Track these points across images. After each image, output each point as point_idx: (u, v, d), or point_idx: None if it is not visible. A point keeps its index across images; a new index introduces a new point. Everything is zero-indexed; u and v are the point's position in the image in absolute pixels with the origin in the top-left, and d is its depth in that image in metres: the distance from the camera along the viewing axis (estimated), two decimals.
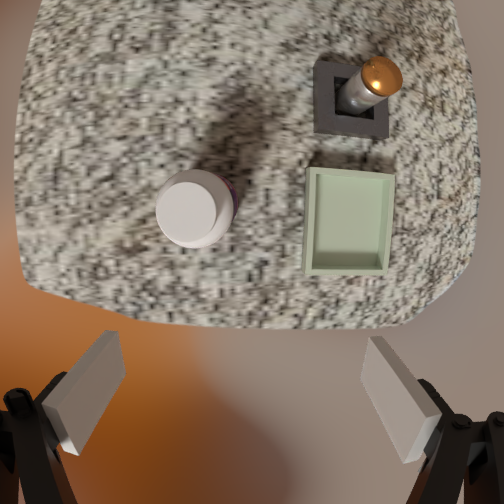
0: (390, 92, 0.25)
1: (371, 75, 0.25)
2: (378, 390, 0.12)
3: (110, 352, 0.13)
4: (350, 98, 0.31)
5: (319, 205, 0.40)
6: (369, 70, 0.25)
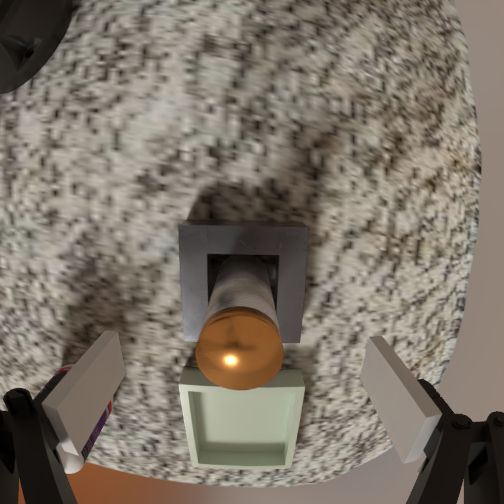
0: (250, 387, 0.15)
1: (209, 363, 0.15)
2: (378, 390, 0.12)
3: (110, 352, 0.13)
4: None
5: (204, 406, 0.30)
6: (205, 354, 0.14)
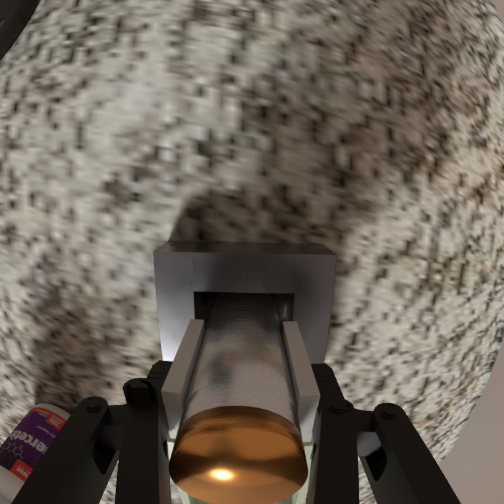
0: None
1: (191, 482, 0.08)
2: None
3: (201, 339, 0.15)
4: None
5: None
6: (184, 474, 0.07)
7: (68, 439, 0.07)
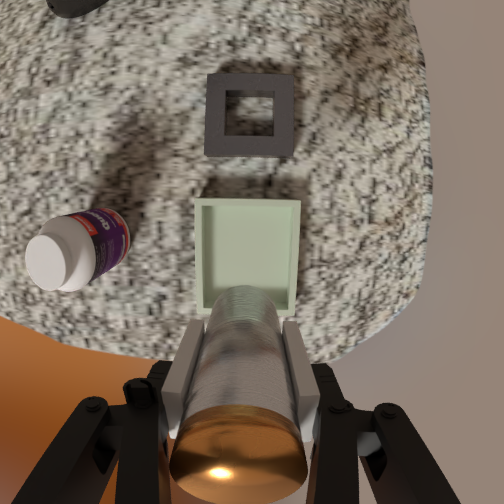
0: None
1: (192, 481, 0.08)
2: None
3: (200, 339, 0.15)
4: None
5: (213, 238, 0.37)
6: (185, 472, 0.08)
7: (68, 439, 0.07)
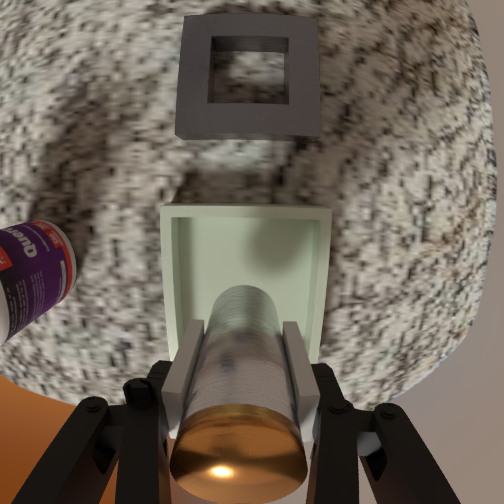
0: (254, 503, 0.08)
1: (192, 480, 0.08)
2: None
3: (201, 339, 0.15)
4: None
5: (193, 266, 0.24)
6: (185, 471, 0.08)
7: (68, 439, 0.07)
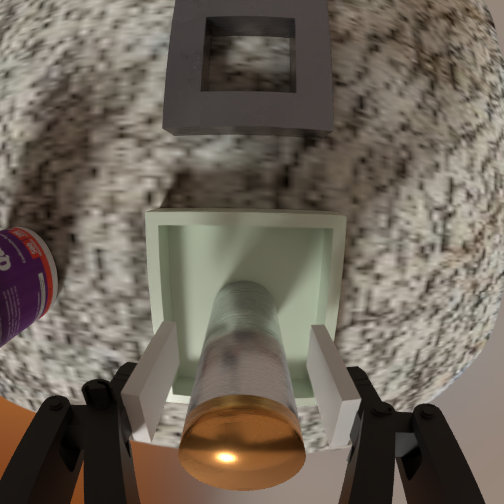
0: (256, 488, 0.09)
1: (199, 466, 0.09)
2: (316, 376, 0.14)
3: (171, 341, 0.15)
4: None
5: (186, 280, 0.21)
6: (193, 458, 0.09)
7: (35, 437, 0.06)
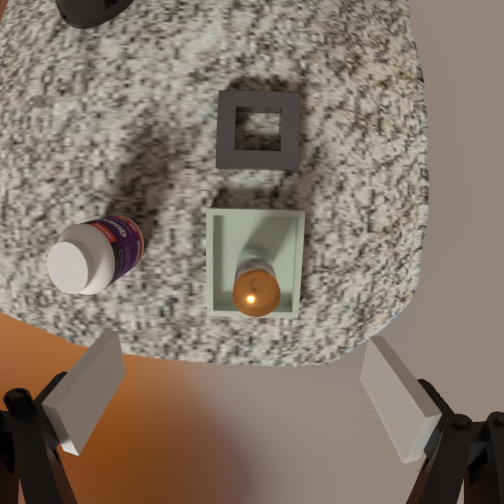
0: (262, 315, 0.28)
1: (239, 299, 0.28)
2: (378, 390, 0.12)
3: (110, 352, 0.13)
4: None
5: (223, 245, 0.40)
6: (237, 294, 0.28)
7: None
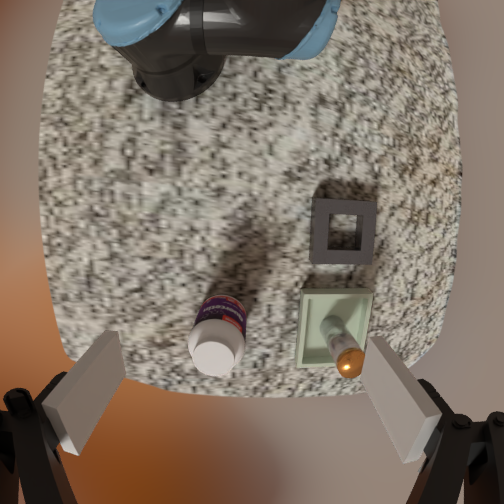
0: (354, 376, 0.39)
1: (342, 369, 0.39)
2: (378, 390, 0.12)
3: (110, 352, 0.13)
4: None
5: (310, 316, 0.51)
6: (342, 366, 0.39)
7: None
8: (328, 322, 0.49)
